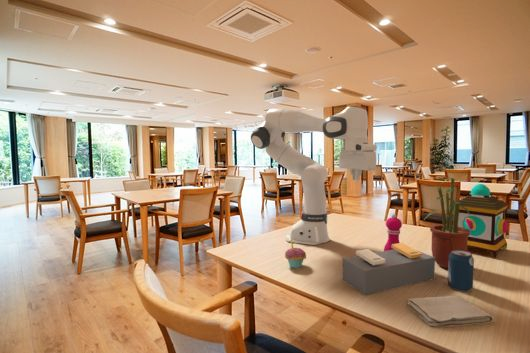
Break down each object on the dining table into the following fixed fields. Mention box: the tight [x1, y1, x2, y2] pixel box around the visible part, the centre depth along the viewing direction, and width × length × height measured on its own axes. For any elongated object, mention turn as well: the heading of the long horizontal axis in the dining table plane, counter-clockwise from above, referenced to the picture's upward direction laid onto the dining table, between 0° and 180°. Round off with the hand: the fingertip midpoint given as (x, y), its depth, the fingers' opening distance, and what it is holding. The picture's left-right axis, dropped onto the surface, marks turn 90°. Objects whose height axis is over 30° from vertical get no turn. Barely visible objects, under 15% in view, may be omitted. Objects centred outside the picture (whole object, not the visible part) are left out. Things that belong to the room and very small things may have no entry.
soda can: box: [447, 250, 475, 292], centre depth 97 cm, size 7×7×12 cm
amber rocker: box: [391, 242, 423, 259], centre depth 106 cm, size 9×5×1 cm, turn 20°
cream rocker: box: [355, 248, 385, 265], centre depth 100 cm, size 9×5×1 cm, turn 20°
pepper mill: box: [383, 213, 403, 251], centre depth 119 cm, size 7×7×20 cm
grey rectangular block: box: [342, 249, 436, 296], centre depth 104 cm, size 12×30×9 cm, turn 110°
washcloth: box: [407, 295, 494, 328], centre depth 82 cm, size 12×18×3 cm, turn 96°
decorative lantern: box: [453, 183, 509, 259], centre depth 131 cm, size 20×20×30 cm
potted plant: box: [423, 177, 470, 270], centre depth 115 cm, size 17×16×35 cm
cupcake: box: [284, 239, 307, 269], centre depth 118 cm, size 9×8×12 cm
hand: (355, 180), depth 120 cm, fingers closed
